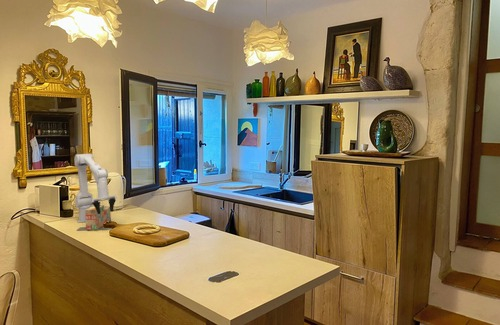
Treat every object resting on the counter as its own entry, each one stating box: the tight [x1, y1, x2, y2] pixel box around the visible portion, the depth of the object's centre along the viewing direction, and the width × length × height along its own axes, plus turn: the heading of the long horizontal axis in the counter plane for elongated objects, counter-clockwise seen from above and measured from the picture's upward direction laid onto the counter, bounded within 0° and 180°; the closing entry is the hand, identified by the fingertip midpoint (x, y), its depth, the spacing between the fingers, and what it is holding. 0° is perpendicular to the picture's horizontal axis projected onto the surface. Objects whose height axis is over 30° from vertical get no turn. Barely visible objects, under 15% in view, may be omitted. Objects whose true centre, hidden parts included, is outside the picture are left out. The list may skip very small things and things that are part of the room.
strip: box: [76, 226, 113, 232], centre depth 220 cm, size 6×20×1 cm, turn 95°
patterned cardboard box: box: [85, 204, 112, 231], centre depth 226 cm, size 21×6×12 cm, turn 179°
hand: (105, 212), depth 215 cm, fingers open, 7 cm apart
